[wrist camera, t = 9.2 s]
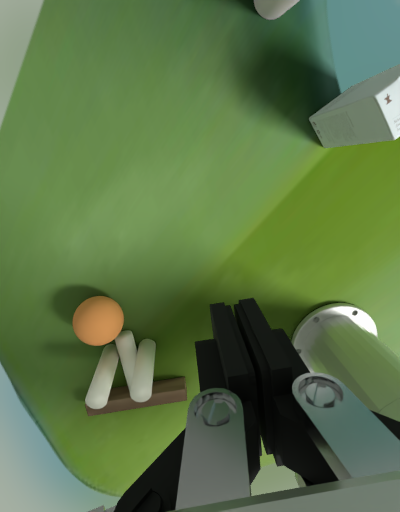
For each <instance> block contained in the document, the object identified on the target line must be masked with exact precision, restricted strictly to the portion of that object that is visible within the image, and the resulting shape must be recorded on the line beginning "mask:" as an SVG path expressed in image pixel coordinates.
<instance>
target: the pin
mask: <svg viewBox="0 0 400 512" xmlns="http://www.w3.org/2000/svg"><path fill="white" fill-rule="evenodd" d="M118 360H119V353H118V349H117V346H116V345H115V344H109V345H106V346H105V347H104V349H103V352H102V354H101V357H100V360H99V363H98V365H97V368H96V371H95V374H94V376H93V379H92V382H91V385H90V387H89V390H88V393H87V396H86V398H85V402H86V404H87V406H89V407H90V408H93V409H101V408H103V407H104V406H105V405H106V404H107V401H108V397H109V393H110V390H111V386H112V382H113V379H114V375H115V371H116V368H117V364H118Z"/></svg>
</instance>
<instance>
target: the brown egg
mask: <svg viewBox="0 0 400 512" xmlns="http://www.w3.org/2000/svg"><path fill="white" fill-rule="evenodd" d="M123 323H124V315H123V311H122V309H121V307H120V306H119V304H118V303H117V302H116V301H114V300H113V299H111V298H109V297H105V296H95V297H91V298H89V299H87V300H85V301H84V302H82V303H81V304H80V305H79V306H78V308H77V309H76V311H75V313H74V316H73V329H74V332H75V334H76V335H77V337H78V338H79V339H80V340H81V341H83V342H84V343H86V344H89V345H94V346H100V345H104V344H107V343H109V342H111V341H112V340H114V339H115V338H116V337H117V336H118V335H119V333H120V332H121V330H122V327H123Z"/></svg>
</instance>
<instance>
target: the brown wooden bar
mask: <svg viewBox="0 0 400 512" xmlns="http://www.w3.org/2000/svg"><path fill="white" fill-rule="evenodd" d="M185 400H187V388H186V382H185V377H179V378H173V379H167V380H160V381H154V382H153V383H152V394H151V397H150V398H149V399H148V400H147V401H145V402H136V401H134V400H133V399H132V398H131V396H130V391H129V388H128V386H123V387H116V388H111V390H110V393H109V397H108V401H107V404H106V405H105V406H104V407H103V408H101V409H93V408H90V407H89V406H87V404H85V407H86V410H87V413H88V416H93V415H99V414H105V413H111V412H117V411H123V410H130V409H136V408H142V407H148V406H154V405H161V404H167V403H173V402H179V401H185Z"/></svg>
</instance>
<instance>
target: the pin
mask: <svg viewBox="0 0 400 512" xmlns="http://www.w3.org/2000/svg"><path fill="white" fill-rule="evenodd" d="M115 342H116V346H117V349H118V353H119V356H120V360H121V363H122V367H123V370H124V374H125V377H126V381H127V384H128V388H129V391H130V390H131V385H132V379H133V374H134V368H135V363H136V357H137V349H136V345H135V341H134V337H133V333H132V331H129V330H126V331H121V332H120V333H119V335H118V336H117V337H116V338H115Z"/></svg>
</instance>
